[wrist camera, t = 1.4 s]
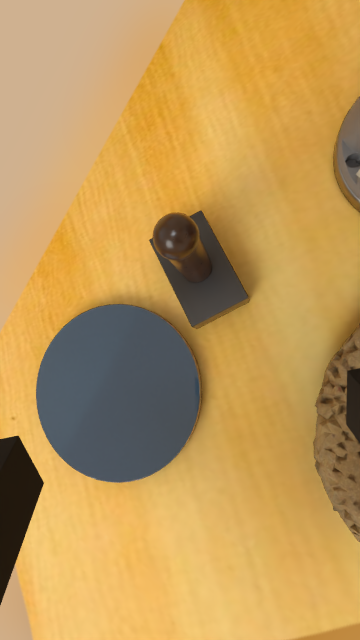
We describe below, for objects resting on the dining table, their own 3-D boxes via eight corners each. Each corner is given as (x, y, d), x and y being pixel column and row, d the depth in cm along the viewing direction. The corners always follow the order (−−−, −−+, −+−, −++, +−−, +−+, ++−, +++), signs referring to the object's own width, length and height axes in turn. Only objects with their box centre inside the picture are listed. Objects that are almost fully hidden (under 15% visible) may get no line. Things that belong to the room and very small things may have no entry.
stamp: (155, 247, 37) (104, 192, 25) (204, 219, 36) (177, 147, 24) (196, 329, 35) (162, 313, 23) (249, 301, 34) (244, 269, 22)
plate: (97, 276, 38) (92, 273, 37) (236, 364, 34) (235, 364, 32) (14, 411, 38) (7, 413, 37) (140, 516, 34) (136, 522, 33)
